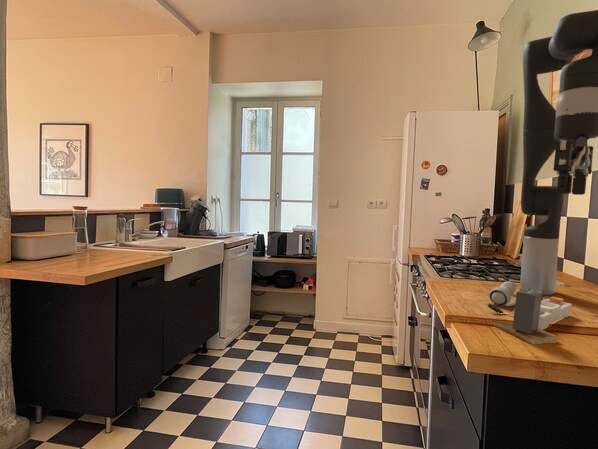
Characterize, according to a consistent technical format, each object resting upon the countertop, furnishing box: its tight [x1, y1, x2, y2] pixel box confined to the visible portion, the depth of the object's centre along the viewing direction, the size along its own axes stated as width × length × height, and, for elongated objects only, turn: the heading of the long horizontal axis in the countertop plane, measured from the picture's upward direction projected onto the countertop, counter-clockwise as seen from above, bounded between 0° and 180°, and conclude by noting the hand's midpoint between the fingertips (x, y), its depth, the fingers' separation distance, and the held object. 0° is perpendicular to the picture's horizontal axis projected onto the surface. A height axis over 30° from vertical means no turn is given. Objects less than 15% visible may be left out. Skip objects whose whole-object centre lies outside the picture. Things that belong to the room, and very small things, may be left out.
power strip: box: [538, 296, 573, 331], centre depth 88 cm, size 21×6×4 cm, turn 127°
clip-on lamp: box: [484, 280, 544, 315], centre depth 95 cm, size 12×6×18 cm
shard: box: [491, 320, 559, 345], centre depth 78 cm, size 11×8×2 cm
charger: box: [512, 289, 542, 334], centre depth 76 cm, size 4×4×8 cm
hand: (571, 194), depth 75 cm, fingers open, 8 cm apart
